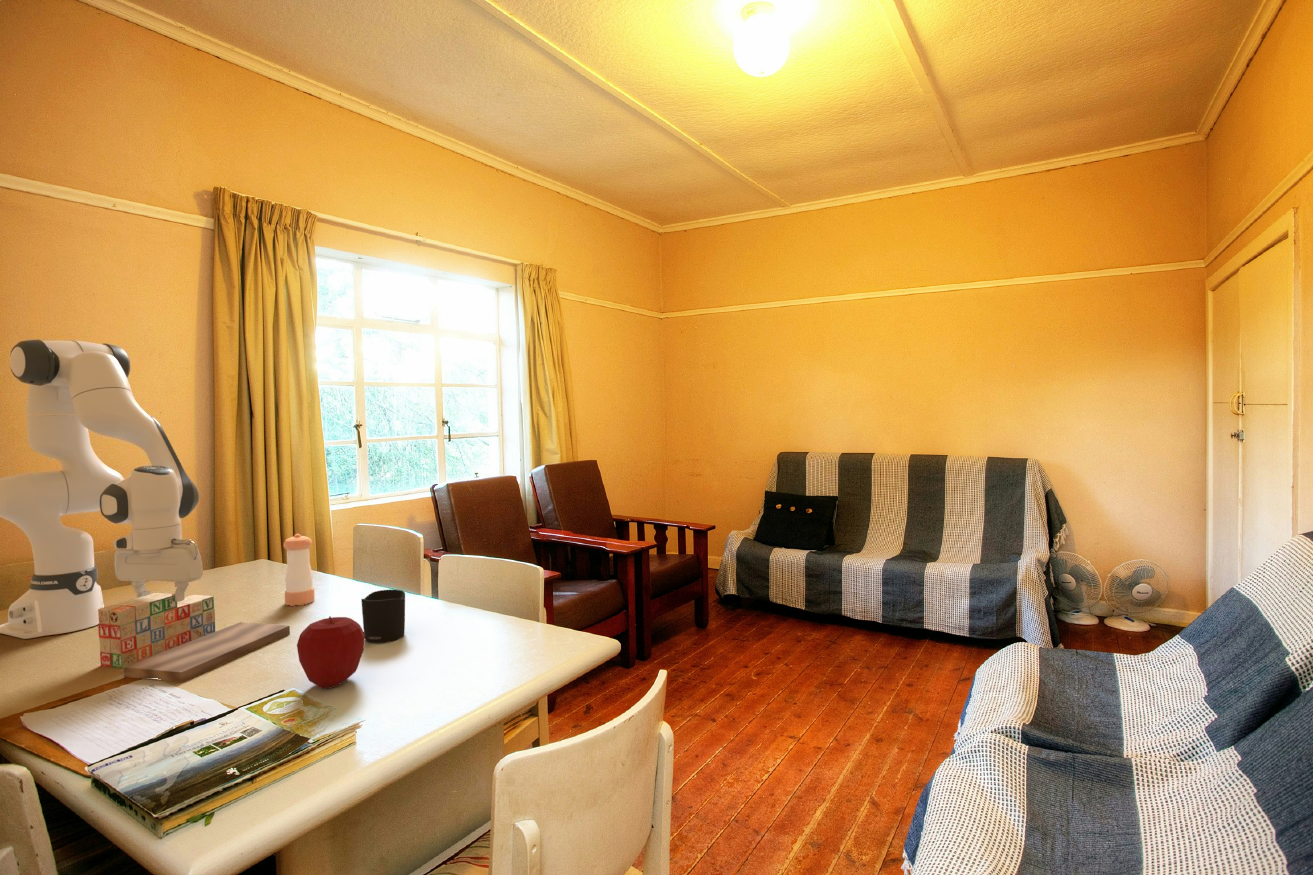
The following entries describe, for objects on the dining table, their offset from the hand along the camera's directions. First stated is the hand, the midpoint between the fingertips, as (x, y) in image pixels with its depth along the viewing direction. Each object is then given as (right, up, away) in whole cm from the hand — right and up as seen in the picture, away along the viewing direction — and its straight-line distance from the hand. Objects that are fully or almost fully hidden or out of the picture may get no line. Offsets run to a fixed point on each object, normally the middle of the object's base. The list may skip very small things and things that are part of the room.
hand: (160, 600), depth 145 cm
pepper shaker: (+11, -10, +36) cm, 39 cm away
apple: (+48, -12, -19) cm, 53 cm away
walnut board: (+13, -11, -2) cm, 18 cm away
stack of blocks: (-1, -11, +1) cm, 11 cm away
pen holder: (+47, -11, +7) cm, 49 cm away
